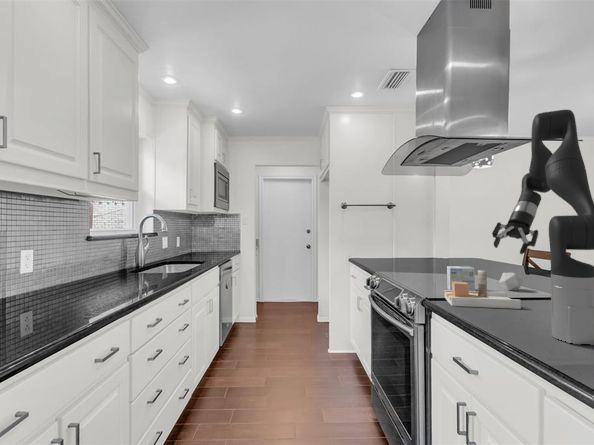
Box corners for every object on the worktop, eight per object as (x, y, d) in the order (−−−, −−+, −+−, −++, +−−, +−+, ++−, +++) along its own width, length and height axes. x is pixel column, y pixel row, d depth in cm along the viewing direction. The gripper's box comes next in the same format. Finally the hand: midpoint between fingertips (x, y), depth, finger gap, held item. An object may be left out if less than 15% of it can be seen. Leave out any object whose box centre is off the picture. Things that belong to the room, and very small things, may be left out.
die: (522, 294, 144) (529, 275, 147) (503, 284, 145) (510, 265, 148) (511, 296, 152) (517, 278, 155) (493, 287, 153) (499, 269, 156)
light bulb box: (471, 288, 154) (470, 265, 154) (475, 291, 147) (475, 268, 147) (446, 288, 156) (446, 265, 156) (450, 291, 149) (449, 267, 149)
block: (468, 297, 127) (468, 284, 126) (454, 296, 128) (454, 283, 128) (465, 294, 131) (465, 281, 131) (451, 293, 133) (451, 281, 133)
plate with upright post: (491, 302, 122) (491, 272, 122) (450, 300, 125) (450, 271, 125) (482, 295, 132) (482, 268, 132) (445, 294, 136) (444, 268, 136)
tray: (520, 308, 118) (520, 300, 118) (451, 305, 124) (451, 297, 124) (506, 299, 132) (506, 292, 132) (444, 297, 137) (444, 290, 137)
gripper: (501, 206, 131) (486, 240, 127) (544, 213, 121) (529, 250, 117) (503, 216, 136) (488, 249, 132) (544, 224, 126) (530, 260, 122)
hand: (508, 250), depth 124 cm, fingers open, 8 cm apart
